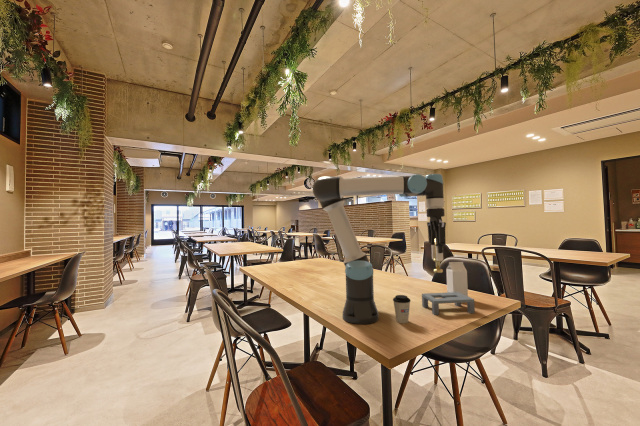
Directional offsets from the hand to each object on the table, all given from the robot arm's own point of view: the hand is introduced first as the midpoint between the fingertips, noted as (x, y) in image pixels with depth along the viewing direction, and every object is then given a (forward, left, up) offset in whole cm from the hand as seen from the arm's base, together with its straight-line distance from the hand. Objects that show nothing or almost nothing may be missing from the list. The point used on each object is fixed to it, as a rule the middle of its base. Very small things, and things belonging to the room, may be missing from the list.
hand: (437, 259), depth 123 cm
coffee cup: (-21, -10, -23) cm, 33 cm away
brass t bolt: (0, 0, -6) cm, 6 cm away
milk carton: (+17, +15, -23) cm, 32 cm away
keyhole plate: (+4, +1, -23) cm, 23 cm away
